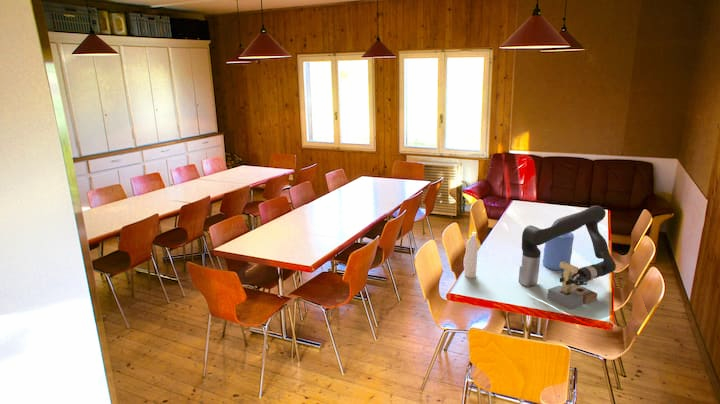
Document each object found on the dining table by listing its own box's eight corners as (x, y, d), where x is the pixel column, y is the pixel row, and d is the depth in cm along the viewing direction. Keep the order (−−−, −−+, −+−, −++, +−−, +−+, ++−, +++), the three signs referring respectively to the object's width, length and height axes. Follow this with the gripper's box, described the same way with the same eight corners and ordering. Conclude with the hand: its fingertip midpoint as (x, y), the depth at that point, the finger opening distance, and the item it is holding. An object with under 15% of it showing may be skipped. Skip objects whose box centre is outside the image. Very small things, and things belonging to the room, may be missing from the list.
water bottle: (474, 278, 273) (477, 237, 266) (463, 276, 276) (465, 236, 269) (477, 272, 281) (480, 232, 274) (466, 271, 283) (468, 231, 276)
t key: (555, 295, 247) (559, 262, 242) (559, 294, 249) (563, 261, 243) (570, 302, 240) (574, 268, 234) (574, 301, 241) (578, 267, 236)
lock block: (561, 294, 254) (562, 286, 253) (572, 290, 258) (573, 283, 257) (585, 305, 242) (586, 297, 241) (596, 301, 247) (597, 293, 245)
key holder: (546, 299, 249) (548, 289, 247) (558, 295, 253) (559, 285, 251) (570, 311, 237) (571, 300, 235) (581, 306, 241) (583, 295, 239)
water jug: (572, 271, 281) (578, 226, 274) (544, 269, 284) (549, 225, 277) (567, 261, 296) (572, 218, 288) (540, 259, 299) (545, 217, 291)
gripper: (574, 262, 253) (552, 269, 245) (598, 272, 241) (576, 280, 233) (572, 275, 255) (550, 283, 247) (596, 286, 243) (574, 294, 235)
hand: (563, 281), depth 240 cm, fingers closed on t key, 3 cm apart
